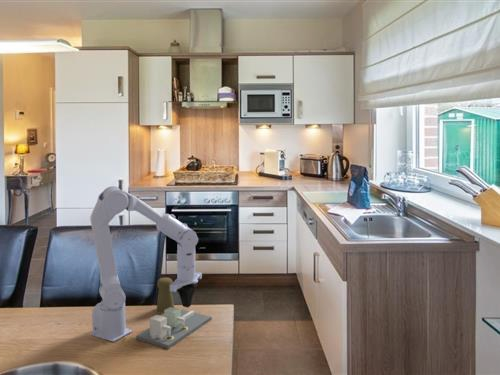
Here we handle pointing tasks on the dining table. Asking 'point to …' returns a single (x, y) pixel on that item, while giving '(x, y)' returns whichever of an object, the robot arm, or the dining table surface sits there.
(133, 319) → the dining table surface
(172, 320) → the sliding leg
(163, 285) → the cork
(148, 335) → the plate
